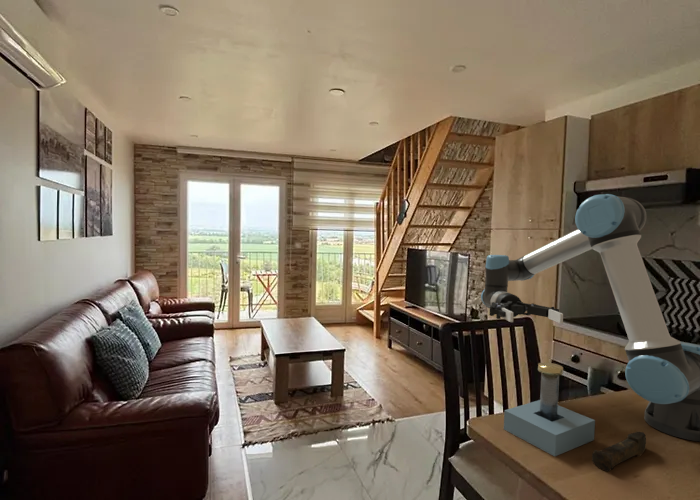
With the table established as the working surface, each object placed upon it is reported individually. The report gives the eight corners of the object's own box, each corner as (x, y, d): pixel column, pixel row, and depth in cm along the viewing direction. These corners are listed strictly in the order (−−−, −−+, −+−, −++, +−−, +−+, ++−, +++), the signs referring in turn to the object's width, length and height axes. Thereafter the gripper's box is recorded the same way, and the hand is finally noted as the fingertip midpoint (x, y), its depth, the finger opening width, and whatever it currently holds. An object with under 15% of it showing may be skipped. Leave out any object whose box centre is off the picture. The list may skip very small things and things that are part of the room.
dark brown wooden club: (609, 475, 83) (610, 454, 83) (590, 465, 87) (592, 444, 86) (657, 455, 91) (659, 436, 91) (639, 446, 95) (640, 428, 95)
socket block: (594, 440, 97) (595, 420, 97) (554, 456, 89) (555, 435, 89) (542, 416, 109) (543, 398, 109) (503, 429, 101) (504, 410, 101)
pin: (565, 432, 98) (567, 367, 98) (551, 437, 95) (554, 370, 95) (544, 423, 103) (546, 361, 103) (530, 427, 100) (533, 364, 100)
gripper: (543, 316, 128) (581, 332, 107) (467, 314, 128) (490, 330, 107) (545, 293, 128) (583, 305, 107) (468, 291, 128) (491, 303, 107)
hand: (536, 318), depth 107 cm, fingers open, 13 cm apart
